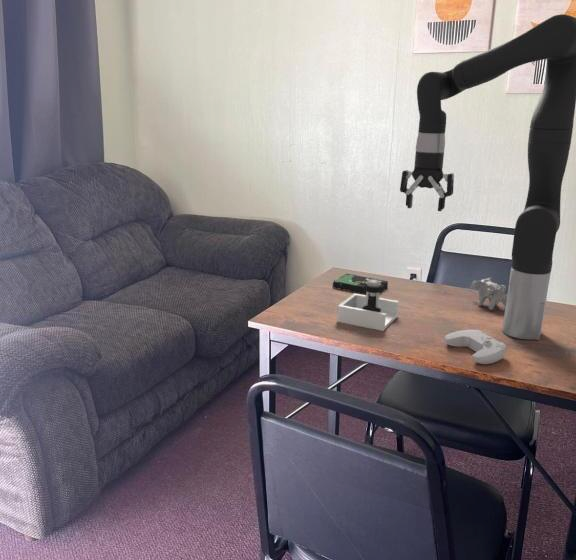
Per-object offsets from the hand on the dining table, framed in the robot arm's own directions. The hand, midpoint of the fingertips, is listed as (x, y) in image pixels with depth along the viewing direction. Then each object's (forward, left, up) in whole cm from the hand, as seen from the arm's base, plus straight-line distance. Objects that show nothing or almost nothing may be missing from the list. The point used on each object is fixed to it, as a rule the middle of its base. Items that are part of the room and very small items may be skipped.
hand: (424, 209), depth 157 cm
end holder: (+8, +19, -28) cm, 35 cm away
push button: (+8, +19, -27) cm, 34 cm away
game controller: (-22, +26, -29) cm, 45 cm away
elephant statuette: (-18, -10, -28) cm, 35 cm away
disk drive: (+20, -6, -29) cm, 35 cm away
